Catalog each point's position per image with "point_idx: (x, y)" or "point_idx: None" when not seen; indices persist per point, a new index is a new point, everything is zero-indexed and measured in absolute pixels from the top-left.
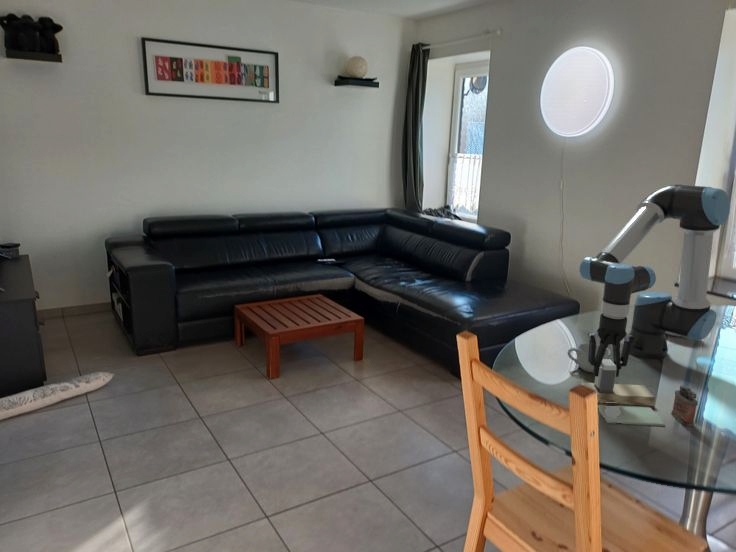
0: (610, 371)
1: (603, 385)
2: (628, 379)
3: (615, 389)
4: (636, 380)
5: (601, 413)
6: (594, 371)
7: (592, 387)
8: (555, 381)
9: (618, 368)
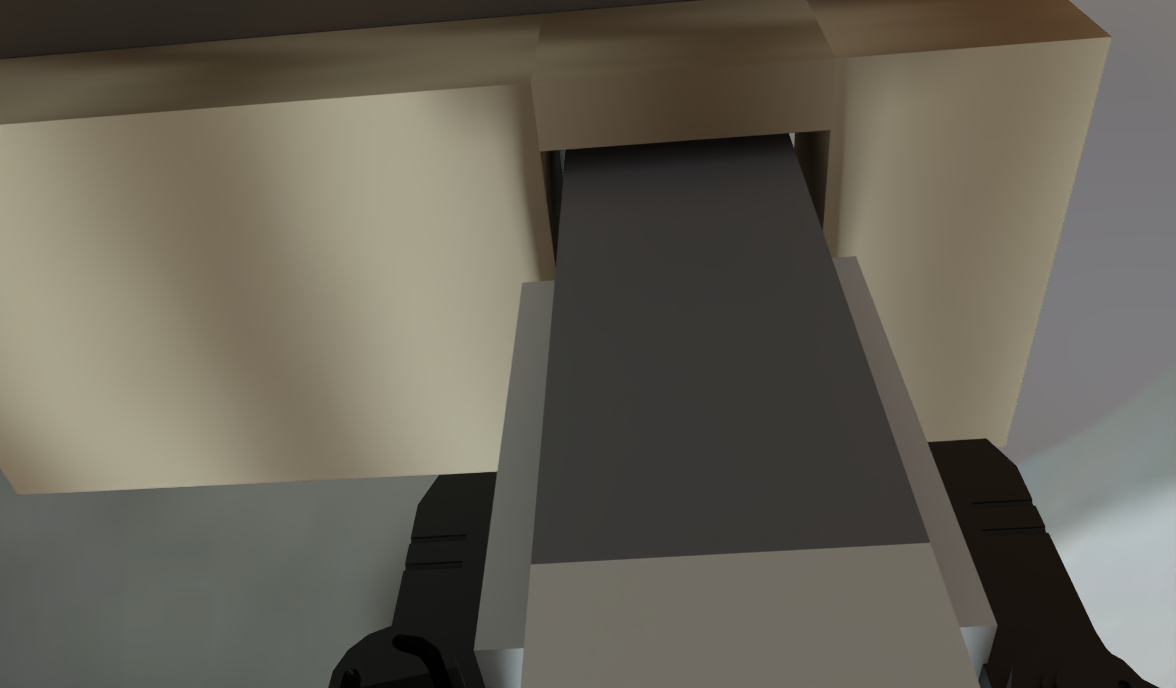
0: (696, 520)
1: (783, 240)
2: (241, 657)
3: (475, 310)
4: (157, 650)
5: None
6: (1043, 548)
7: None
8: (1151, 530)
9: (428, 651)
